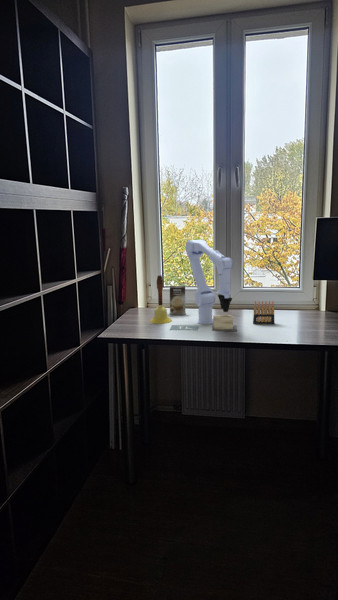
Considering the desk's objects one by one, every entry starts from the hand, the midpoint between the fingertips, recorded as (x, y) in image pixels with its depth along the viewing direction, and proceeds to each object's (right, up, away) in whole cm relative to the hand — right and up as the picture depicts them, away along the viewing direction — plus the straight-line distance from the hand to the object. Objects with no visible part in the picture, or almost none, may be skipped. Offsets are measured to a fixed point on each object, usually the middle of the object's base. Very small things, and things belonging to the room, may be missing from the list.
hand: (224, 310), depth 203 cm
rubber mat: (0, -9, +2) cm, 9 cm away
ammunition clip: (+21, -7, +9) cm, 25 cm away
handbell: (-32, -7, +19) cm, 38 cm away
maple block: (-1, -9, +2) cm, 9 cm away
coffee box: (-22, -3, +37) cm, 43 cm away
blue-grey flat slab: (-20, -9, +4) cm, 22 cm away
